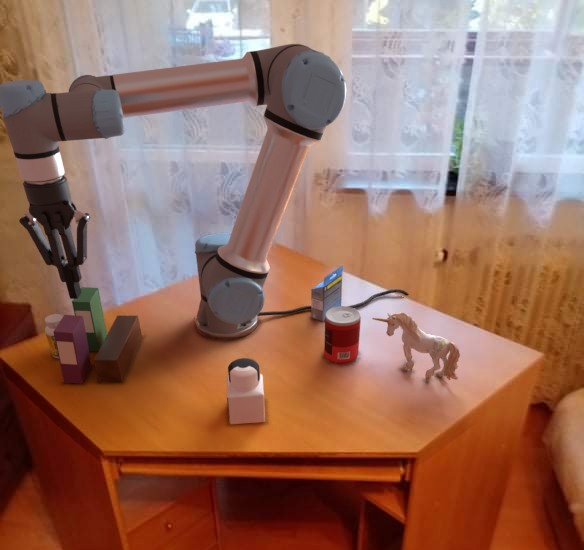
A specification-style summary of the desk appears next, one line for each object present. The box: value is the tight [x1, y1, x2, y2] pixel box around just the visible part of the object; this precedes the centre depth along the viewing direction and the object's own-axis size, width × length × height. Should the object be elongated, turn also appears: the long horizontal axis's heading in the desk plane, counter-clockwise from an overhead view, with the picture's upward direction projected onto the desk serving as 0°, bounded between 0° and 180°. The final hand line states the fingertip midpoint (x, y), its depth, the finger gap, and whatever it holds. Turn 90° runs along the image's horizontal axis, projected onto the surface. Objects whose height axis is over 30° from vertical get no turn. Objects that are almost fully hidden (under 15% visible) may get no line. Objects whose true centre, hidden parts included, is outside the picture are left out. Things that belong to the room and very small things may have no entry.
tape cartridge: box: [310, 264, 344, 322], centre depth 149 cm, size 9×4×12 cm, turn 144°
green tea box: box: [71, 286, 108, 352], centre depth 138 cm, size 4×7×13 cm, turn 179°
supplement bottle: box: [44, 313, 64, 360], centre depth 136 cm, size 5×5×10 cm
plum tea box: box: [53, 314, 92, 384], centre depth 128 cm, size 4×7×13 cm, turn 179°
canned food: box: [323, 305, 362, 366], centre depth 134 cm, size 8×8×11 cm
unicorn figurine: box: [371, 311, 461, 381], centre depth 128 cm, size 7×20×13 cm, turn 68°
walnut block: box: [93, 315, 143, 384], centre depth 135 cm, size 5×19×6 cm, turn 178°
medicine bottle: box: [226, 357, 266, 425], centre depth 117 cm, size 7×7×12 cm
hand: (75, 295), depth 120 cm, fingers closed
